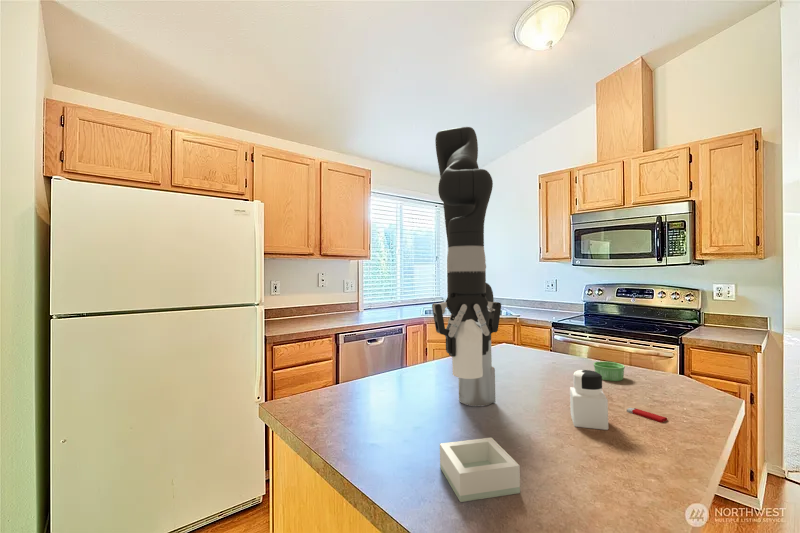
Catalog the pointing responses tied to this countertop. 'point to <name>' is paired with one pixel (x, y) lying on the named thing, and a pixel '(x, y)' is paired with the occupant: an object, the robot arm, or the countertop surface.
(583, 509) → the countertop surface
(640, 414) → the lighter
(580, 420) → the medicine bottle
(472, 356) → the roll
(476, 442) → the socket
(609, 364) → the ramekin
